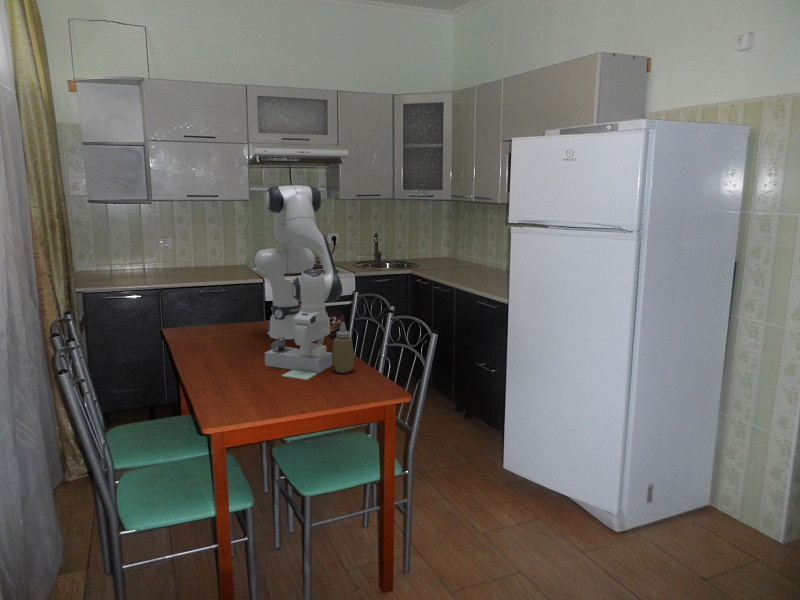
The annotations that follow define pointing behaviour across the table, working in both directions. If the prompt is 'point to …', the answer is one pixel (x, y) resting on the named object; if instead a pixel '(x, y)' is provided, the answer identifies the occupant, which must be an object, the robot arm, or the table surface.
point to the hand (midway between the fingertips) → (313, 351)
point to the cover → (314, 350)
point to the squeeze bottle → (343, 351)
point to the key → (279, 344)
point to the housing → (297, 360)
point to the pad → (299, 374)
